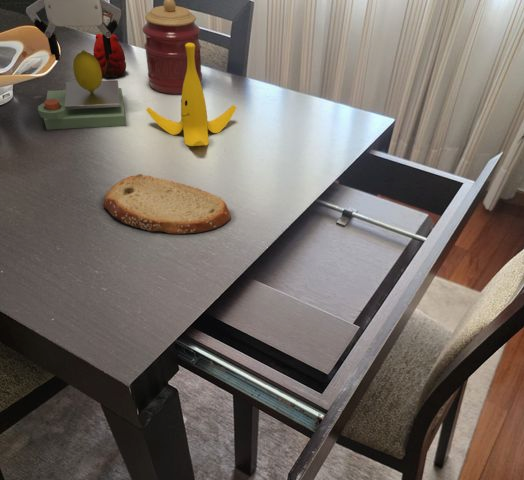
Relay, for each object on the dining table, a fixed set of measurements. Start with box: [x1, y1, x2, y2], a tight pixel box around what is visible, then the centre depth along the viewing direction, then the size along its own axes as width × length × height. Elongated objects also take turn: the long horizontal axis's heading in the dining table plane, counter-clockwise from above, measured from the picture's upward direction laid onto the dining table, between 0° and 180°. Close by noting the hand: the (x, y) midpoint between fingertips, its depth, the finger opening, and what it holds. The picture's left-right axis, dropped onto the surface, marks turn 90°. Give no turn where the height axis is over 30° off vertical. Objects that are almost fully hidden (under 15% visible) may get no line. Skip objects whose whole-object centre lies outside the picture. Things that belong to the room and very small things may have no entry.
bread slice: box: [102, 173, 232, 235], centre depth 81 cm, size 18×18×4 cm
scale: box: [37, 87, 127, 131], centre depth 105 cm, size 17×15×4 cm
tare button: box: [43, 99, 60, 110], centre depth 99 cm, size 3×3×1 cm
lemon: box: [72, 49, 103, 93], centre depth 101 cm, size 6×6×8 cm
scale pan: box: [65, 79, 121, 109], centre depth 104 cm, size 11×13×1 cm
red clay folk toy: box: [92, 10, 127, 79], centre depth 116 cm, size 8×7×15 cm
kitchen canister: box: [142, 0, 203, 95], centre depth 113 cm, size 13×13×18 cm
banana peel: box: [145, 43, 237, 147], centre depth 97 cm, size 17×19×17 cm
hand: (83, 58), depth 99 cm, fingers open, 9 cm apart
